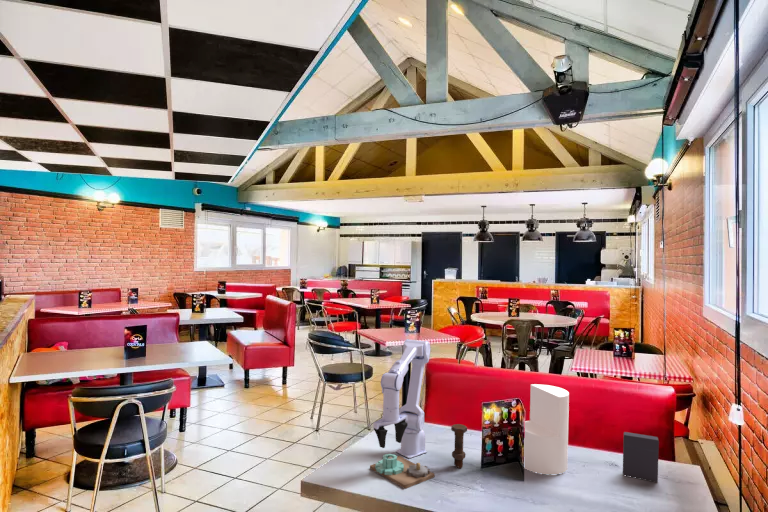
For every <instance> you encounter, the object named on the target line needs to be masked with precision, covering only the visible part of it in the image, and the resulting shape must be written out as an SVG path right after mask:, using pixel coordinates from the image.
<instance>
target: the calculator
mask: <svg viewBox="0 0 768 512" xmlns="http://www.w3.org/2000/svg"><path fill="white" fill-rule="evenodd" d="M622 442H623V445H622V447H623V448H622V449H623V450H622V451H623V452H622V475H623V476H624V475H626V476H625V477H627V476H631V477H630V478H633V477H636V478H635V479H638V478H641V479H640V480H643V479H646V480H645V481H648V480H651V481H650V482H654V481H655V483H658V481H659V451H660V450H659V449H660V446H659V445H660V441H659V437H658V436H653V435H649V434H648V435H647V434H640V433H633V432H628V431H623V441H622Z"/></svg>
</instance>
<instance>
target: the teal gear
mask: <svg viewBox="0 0 768 512" xmlns="http://www.w3.org/2000/svg"><path fill="white" fill-rule="evenodd" d="M397 456H398V455H396V454H392V453H386V454H384V455H382V459H381V460H378V461H377V462H375V464H376V466H375V469H376V471H377V472H379V473H381V474H382V473H385V475H392V474H393V473H394V474H399V473H402V471H403V470H404V464H403V463H402V462H400V461H398V460H397ZM388 457H392V459H388ZM377 472H376V473H377Z"/></svg>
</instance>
